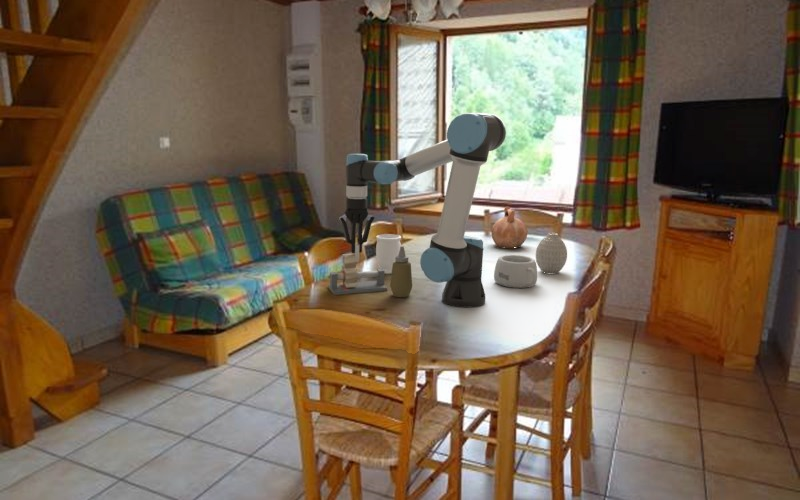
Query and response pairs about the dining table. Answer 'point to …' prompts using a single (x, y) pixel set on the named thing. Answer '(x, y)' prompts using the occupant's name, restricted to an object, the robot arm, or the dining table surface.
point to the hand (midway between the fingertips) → (356, 261)
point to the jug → (509, 230)
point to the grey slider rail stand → (358, 283)
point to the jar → (387, 251)
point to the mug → (515, 271)
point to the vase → (551, 254)
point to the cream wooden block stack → (349, 270)
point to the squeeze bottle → (401, 275)
